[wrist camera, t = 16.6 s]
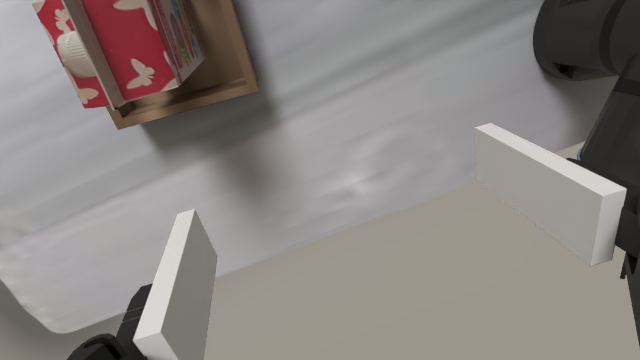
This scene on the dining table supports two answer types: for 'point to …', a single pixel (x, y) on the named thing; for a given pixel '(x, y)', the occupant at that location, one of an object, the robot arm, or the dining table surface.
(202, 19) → the walled box
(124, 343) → the robot arm
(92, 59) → the juice carton
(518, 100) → the dining table surface
